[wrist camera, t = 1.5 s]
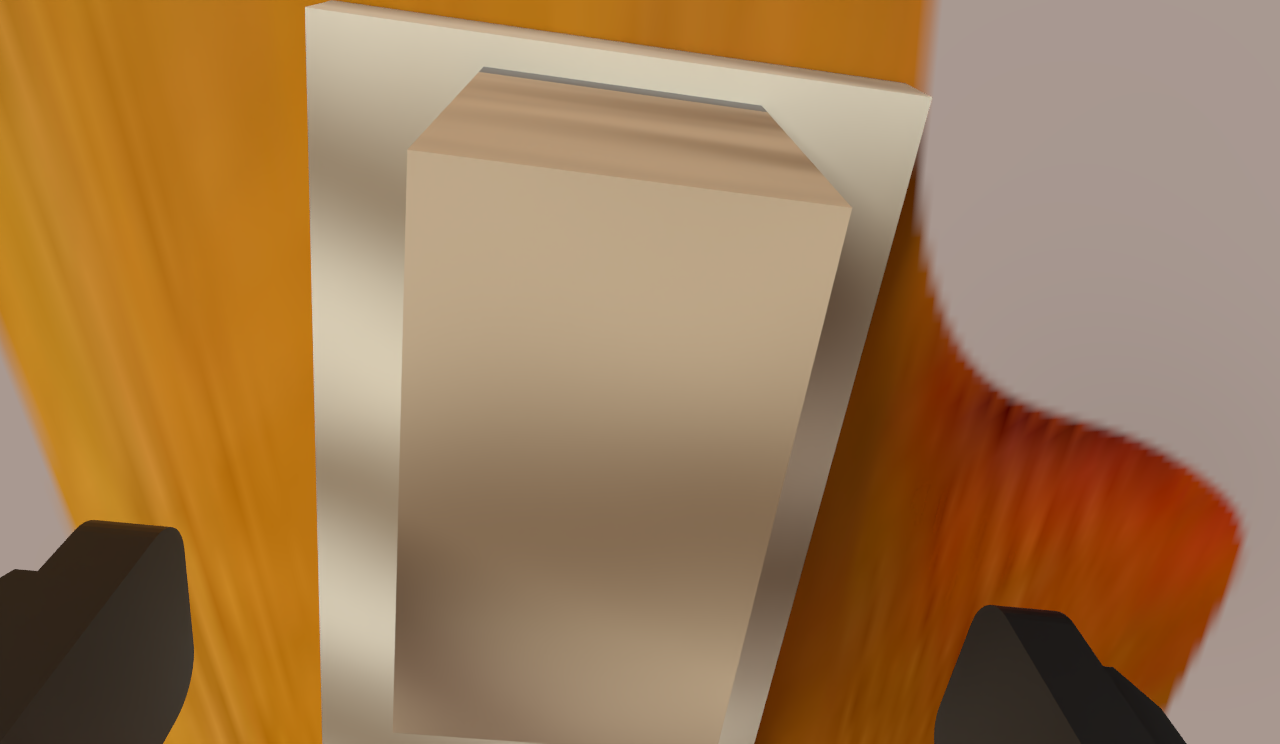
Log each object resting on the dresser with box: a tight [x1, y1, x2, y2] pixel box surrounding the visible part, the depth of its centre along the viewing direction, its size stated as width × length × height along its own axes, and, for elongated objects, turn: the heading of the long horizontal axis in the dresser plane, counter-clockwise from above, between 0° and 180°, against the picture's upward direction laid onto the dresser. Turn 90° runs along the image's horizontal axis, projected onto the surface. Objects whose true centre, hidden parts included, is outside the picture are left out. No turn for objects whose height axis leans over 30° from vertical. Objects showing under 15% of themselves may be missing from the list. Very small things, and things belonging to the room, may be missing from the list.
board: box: [305, 0, 932, 744], centre depth 19 cm, size 18×10×2 cm, turn 172°
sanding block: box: [393, 67, 852, 744], centre depth 13 cm, size 8×4×6 cm, turn 172°
